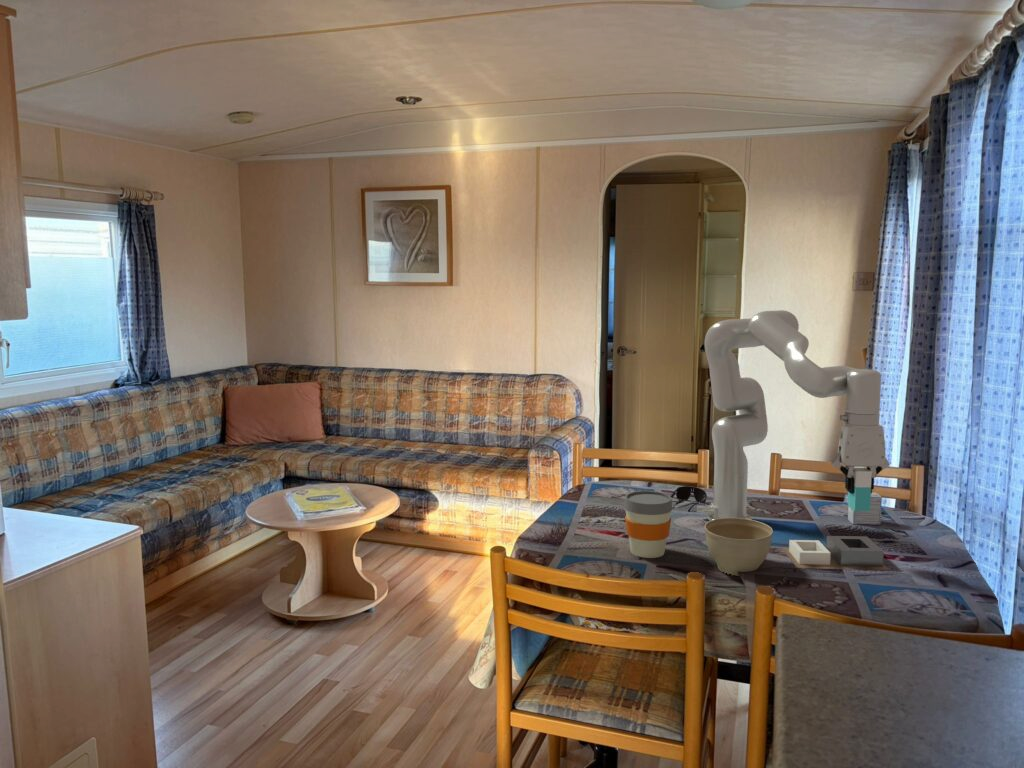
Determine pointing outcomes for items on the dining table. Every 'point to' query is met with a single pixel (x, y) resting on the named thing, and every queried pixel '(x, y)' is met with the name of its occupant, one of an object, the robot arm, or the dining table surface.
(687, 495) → the sunglasses
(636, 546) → the reusable coffee cup
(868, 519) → the medicine box
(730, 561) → the planter bowl
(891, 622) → the dining table surface
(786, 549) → the panel board
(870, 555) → the port block
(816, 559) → the white rectangular frame
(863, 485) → the plug
